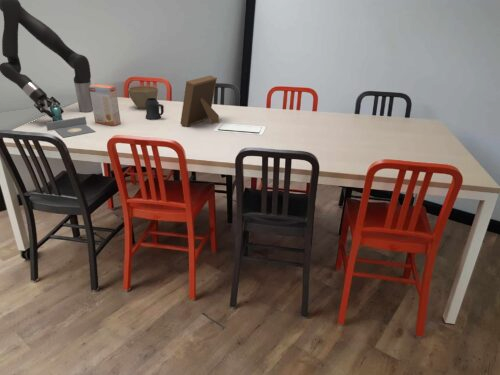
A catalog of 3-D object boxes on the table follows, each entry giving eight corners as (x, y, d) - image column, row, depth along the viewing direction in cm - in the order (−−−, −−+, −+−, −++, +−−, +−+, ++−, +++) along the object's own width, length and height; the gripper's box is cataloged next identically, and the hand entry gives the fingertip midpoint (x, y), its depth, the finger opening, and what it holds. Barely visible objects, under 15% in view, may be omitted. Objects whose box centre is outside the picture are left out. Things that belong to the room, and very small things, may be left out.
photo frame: (180, 125, 209) (178, 80, 198) (203, 116, 226) (202, 74, 215) (201, 130, 202) (200, 83, 191) (224, 121, 219) (224, 77, 208)
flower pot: (155, 111, 234) (153, 91, 229) (126, 110, 235) (124, 91, 229) (162, 104, 251) (160, 85, 245) (135, 103, 251) (133, 85, 245)
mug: (142, 118, 220) (140, 99, 215) (152, 114, 227) (150, 96, 222) (158, 121, 215) (157, 102, 210) (168, 117, 223) (166, 98, 218)
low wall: (86, 123, 209) (84, 116, 207) (86, 124, 208) (85, 117, 207) (47, 130, 197) (45, 122, 196) (47, 130, 197) (46, 123, 195)
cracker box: (121, 123, 210) (116, 85, 201) (113, 126, 205) (108, 88, 196) (102, 120, 215) (96, 83, 206) (94, 123, 211) (88, 85, 201)
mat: (85, 124, 207) (85, 123, 207) (95, 131, 197) (95, 131, 196) (54, 129, 198) (54, 129, 198) (63, 137, 187) (63, 137, 187)
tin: (61, 121, 212) (58, 105, 208) (64, 123, 208) (61, 107, 204) (52, 123, 209) (48, 107, 205) (54, 125, 205) (51, 109, 201)
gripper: (28, 90, 195) (52, 113, 198) (46, 85, 208) (69, 107, 211) (22, 100, 198) (46, 122, 202) (40, 94, 211) (62, 115, 214)
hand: (57, 114), depth 206 cm, fingers open, 8 cm apart
